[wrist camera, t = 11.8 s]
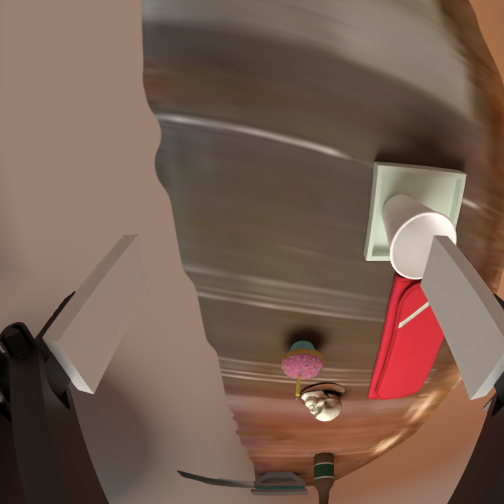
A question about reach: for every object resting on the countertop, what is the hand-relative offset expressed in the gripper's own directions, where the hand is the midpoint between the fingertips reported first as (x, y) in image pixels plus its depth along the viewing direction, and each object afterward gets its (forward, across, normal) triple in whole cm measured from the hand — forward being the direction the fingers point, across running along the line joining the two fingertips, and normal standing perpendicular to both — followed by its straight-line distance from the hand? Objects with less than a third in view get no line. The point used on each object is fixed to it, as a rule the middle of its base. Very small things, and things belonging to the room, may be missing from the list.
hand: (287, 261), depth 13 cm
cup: (+31, +18, -11) cm, 38 cm away
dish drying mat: (+32, +29, -42) cm, 61 cm away
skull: (+32, +10, -62) cm, 70 cm away
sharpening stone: (+32, +1, -140) cm, 144 cm away
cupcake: (+32, +4, -42) cm, 53 cm away
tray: (+32, +21, -11) cm, 40 cm away
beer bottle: (+32, +17, -111) cm, 117 cm away
